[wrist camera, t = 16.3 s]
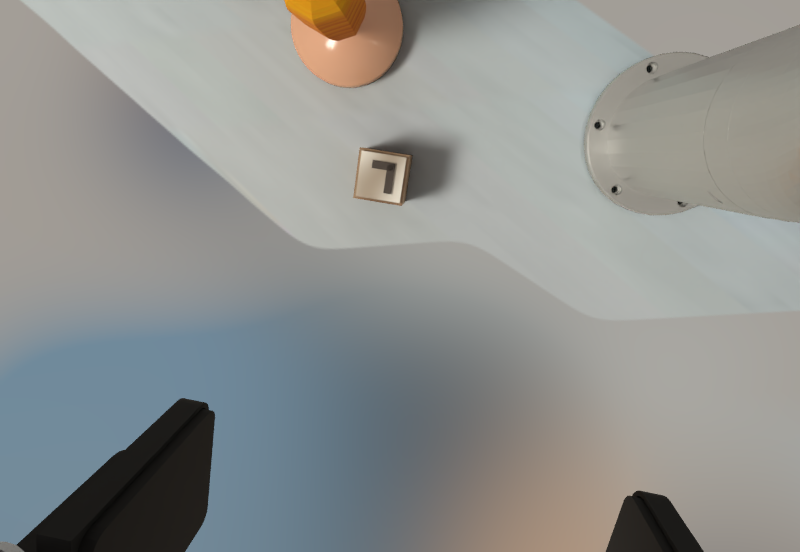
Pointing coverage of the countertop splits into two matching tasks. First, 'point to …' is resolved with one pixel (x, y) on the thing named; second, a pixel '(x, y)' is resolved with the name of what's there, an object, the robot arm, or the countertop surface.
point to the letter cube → (382, 176)
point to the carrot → (330, 16)
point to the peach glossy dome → (353, 47)
